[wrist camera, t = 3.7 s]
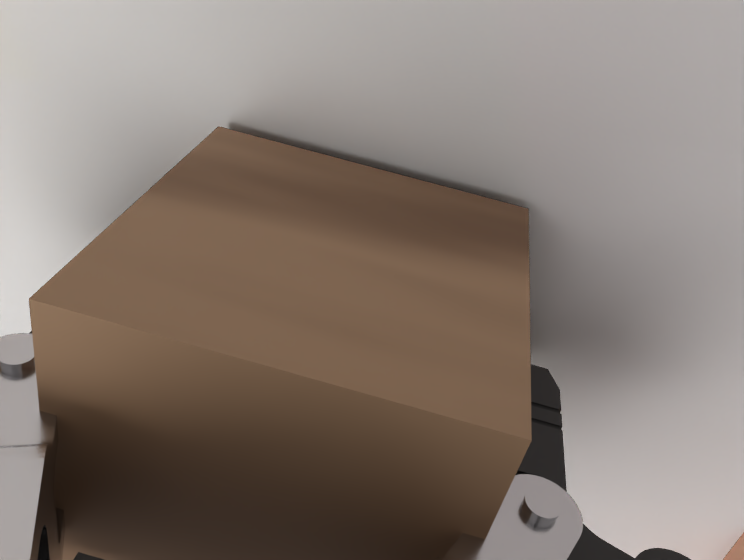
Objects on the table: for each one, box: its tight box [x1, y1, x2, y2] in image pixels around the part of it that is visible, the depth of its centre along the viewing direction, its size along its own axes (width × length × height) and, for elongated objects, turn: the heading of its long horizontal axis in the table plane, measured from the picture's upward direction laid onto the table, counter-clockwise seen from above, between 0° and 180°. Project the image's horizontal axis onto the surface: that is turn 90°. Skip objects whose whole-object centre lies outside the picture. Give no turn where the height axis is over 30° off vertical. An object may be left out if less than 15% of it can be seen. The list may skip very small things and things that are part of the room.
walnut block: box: [29, 126, 532, 560], centre depth 12 cm, size 6×6×6 cm
